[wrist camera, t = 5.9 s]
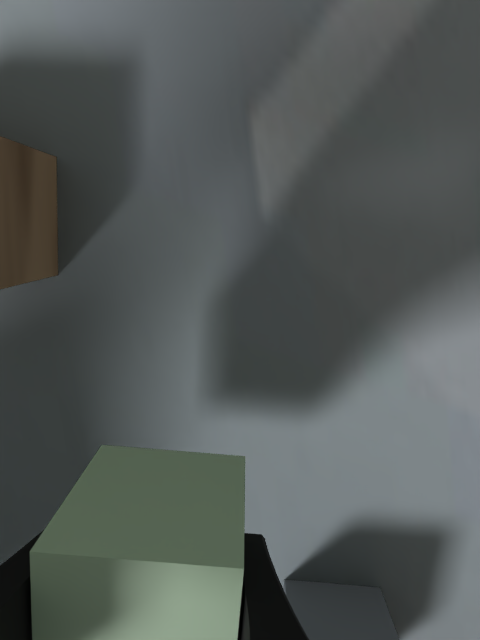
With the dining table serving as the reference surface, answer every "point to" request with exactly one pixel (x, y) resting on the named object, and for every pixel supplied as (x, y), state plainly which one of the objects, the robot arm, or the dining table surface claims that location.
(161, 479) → the sage green block
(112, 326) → the dining table surface
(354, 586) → the gray block
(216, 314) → the dining table surface
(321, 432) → the dining table surface
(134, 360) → the dining table surface
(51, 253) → the walnut block
